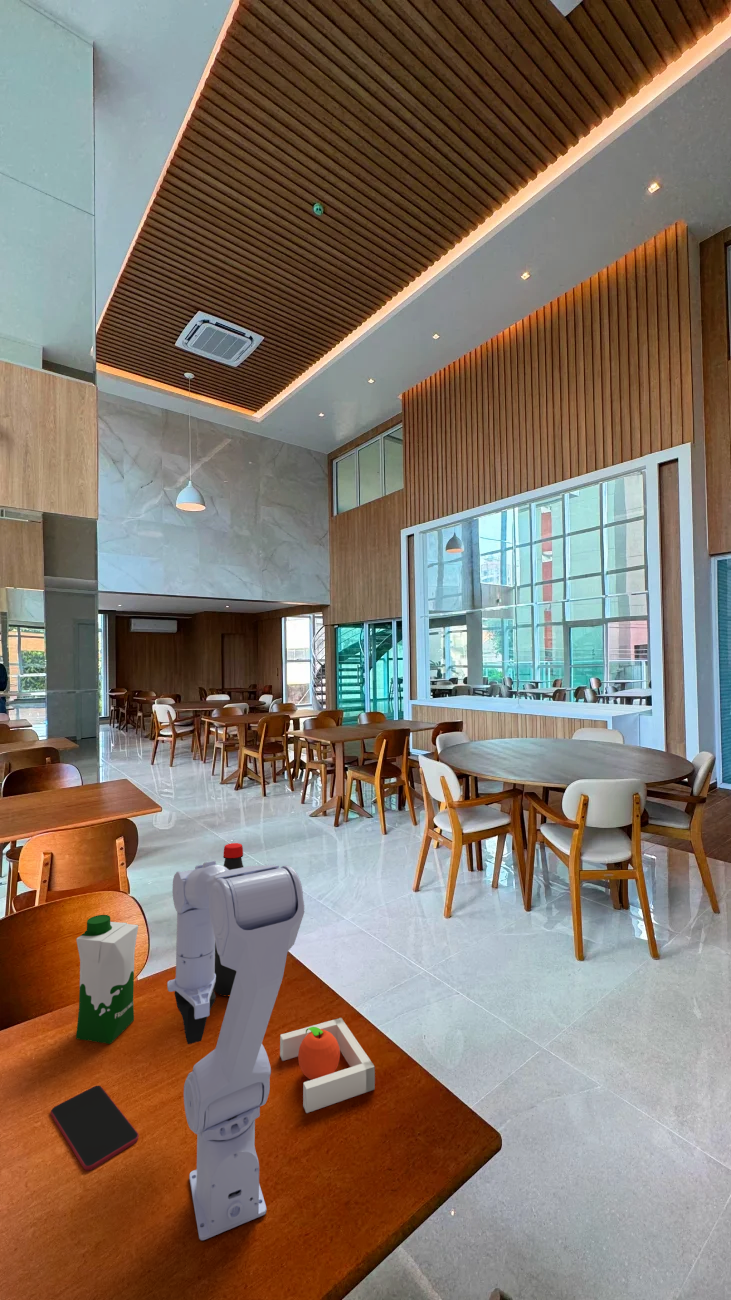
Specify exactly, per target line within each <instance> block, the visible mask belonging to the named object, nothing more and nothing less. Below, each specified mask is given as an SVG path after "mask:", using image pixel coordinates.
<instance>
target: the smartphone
mask: <svg viewBox="0 0 731 1300" xmlns="http://www.w3.org/2000/svg"><path fill="white" fill-rule="evenodd" d="M50 1116H51V1118H52V1119H53V1121H54V1122H55V1124H56V1126H57V1128H58V1129H59V1130H60V1132H61V1134H62V1135H63V1137H64V1139H65V1140H66V1142H67V1144H68V1146H69V1147H70V1149H71V1150H72V1152H73V1153H74V1155H75V1156H76V1159H78V1161H79V1163H80V1165H81V1166H82V1168H83V1170H85V1171H86V1172H89V1171H92V1170H93V1169H94V1170H95V1168H97V1167H99V1166H100V1165H102V1164H103V1163H105V1162H107V1161H108V1160H110V1159H111V1158H113V1157H115V1156H117V1155H118V1154H120V1153H122V1152H123V1151H125V1150H127V1149H128V1148H130V1147H131V1146H133V1145H134V1144H136V1143H137V1142H138V1139H139V1137H140V1135H139V1132H137V1130H136V1129H135V1128H134V1126H133V1125H132V1123H131V1122H130V1121H129V1120H128V1118H127V1117H126V1116H125V1115H124V1114H123V1112H122V1111H121V1109H120V1108H119V1107H118V1106H117V1104H115V1102H114V1101H113V1099H111V1097H110V1096H109V1095H108V1093H107V1092H106V1090H105V1089H104V1088H103V1087H102V1086H101V1085H94V1086H93V1087H90V1088H88V1089H87V1090H85V1091H81V1093H79V1094H76V1095H75V1096H73V1097H70V1098H68V1099H67V1100H65V1101H63V1102H61V1103H59V1104H57V1105H55V1106H54V1107H52V1109H51V1110H50Z"/></svg>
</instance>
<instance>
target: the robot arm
mask: <svg viewBox="0 0 731 1300" xmlns="http://www.w3.org/2000/svg"><path fill="white" fill-rule="evenodd" d="M171 889H172V891H171V892H172V901H173V906H174V908H175V911H176V943H175V944H176V948H175V949H176V950H175V952H176V953H175V957H176V958H175V978H174V979H170V980H167V983H166V985H167V986H166V987H167V991H168V992H169V993H172V992H174V997H175V1002H176V1006H177V1009H178V1011H179V1013H180V1015H181V1017H182V1023H183V1031H184V1034H185V1039H186V1040H185V1041H186V1044H187V1045H191V1044H196V1043H200V1042H202V1040H203V1036H204V1032H205V1028H206V1023H207V1019H208V1017H209V1016H210V1015H211V1014H210V1011H211V1009H212V1007H213V1005H214V1004H215V1001H216V997H217V996H216V992H215V991H214V989H213V988H214V985H215V982H216V974H215V942H216V948H217V952H218V955H219V956H220V962H221V965H223V966H225V967H228V968H230V969H233V970H235V971H236V975H235V979H234V983H233V986H232V990H231V994H230V996H228V997H229V998H228V1000H227V1001H228V1002H227V1005H226V1008H225V1009H226V1010H225V1013H224V1016H223V1019H222V1020H223V1021H222V1023H221V1027H220V1031H219V1034H218V1038H217V1041H216V1042H217V1043H216V1046H215V1048H214V1049H213V1050H211V1051H210V1052H209V1053H208V1054H206V1055H205V1056H204V1057H203V1058H201V1059H200V1060H199V1061H198V1062H196V1063H195V1064H194V1065H193V1068H192V1071H191V1072H189V1073H188V1074H187V1076H186V1079H185V1082H184V1085H183V1106H184V1112H185V1117H186V1122H187V1125H188V1128H189V1129H190V1130H191V1131H192V1132H193V1133H194V1134H195V1135H197V1137H196V1138H197V1139H196V1169H194V1170H192V1171H191V1172H190V1173H189V1175H188V1177H189V1183H190V1191H191V1196H192V1197H191V1198H192V1203H193V1208H194V1214H195V1222H196V1227H197V1233H198V1239H199V1240H200V1241H205V1240H208V1239H210V1238H212V1237H215V1236H216V1235H219V1234H222V1233H224V1232H226V1231H229V1230H231V1229H234V1228H236V1227H238V1226H241V1225H244V1224H246V1223H248V1222H250V1221H252V1220H256V1219H257V1218H260V1217H262V1216H263V1217H264V1216H265V1215H266V1213H267V1205H266V1201H265V1199H264V1194H263V1191H262V1188H261V1184H260V1163H259V1162H260V1161H259V1158H258V1154H257V1152H256V1147H255V1145H256V1144H255V1143H256V1142H255V1140H256V1139H255V1136H256V1135H255V1134H256V1133H255V1132H256V1131H255V1130H256V1128H255V1127H256V1125H255V1124H256V1120H257V1119H258V1118H260V1116H261V1114H260V1113H261V1107H262V1106H264V1105H266V1103H267V1101H268V1098H269V1096H270V1095H269V1094H270V1090H271V1089H270V1088H271V1087H270V1085H271V1084H270V1083H271V1082H270V1079H271V1078H270V1077H271V1074H272V1068H271V1064H270V1061H269V1056H268V1053H267V1051H266V1049H265V1046H264V1045H263V1040H264V1037H265V1034H266V1032H267V1028H268V1025H269V1023H270V1019H271V1016H272V1014H273V1009H274V1007H275V1003H276V1000H277V997H278V994H279V991H280V987H281V984H282V981H283V978H284V972H285V969H286V968H285V967H286V964H287V963H286V961H287V957H288V956H287V955H288V952H289V951H290V950H291V948H292V947H293V946H294V945H295V944H296V943H295V942H296V940H297V936H298V932H299V930H300V927H301V924H302V921H303V918H304V914H305V901H304V900H305V899H304V893H303V892H304V891H303V886H302V883H301V879H300V877H299V875H298V873H297V872H296V871H295V869H294V868H293V867H292V866H290V865H282V866H281V867H280V866H279V865H276V864H267V865H266V864H265V865H248V866H243V868H238V869H232V870H228V869H227V868H226V867H224V865H221V864H217V862H216V860H211V861H205V862H204V863H202V864H198V865H195V867H194V868H193V869H189V870H183V871H176V873H174V875H173V879H172V888H171Z"/></svg>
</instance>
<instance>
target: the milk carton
mask: <svg viewBox="0 0 731 1300" xmlns="http://www.w3.org/2000/svg"><path fill="white" fill-rule="evenodd" d="M138 931H139V925H138V924H129V923H127V922H120V921H119V922H118V921H111V916H110V915H108V914H98V915H94V916H92V917H90V918H88V919H87V920H86V930H85V931H84V933H82V934H81V935H80V936H78V937H77V938H76V939H75V940H76V945H77V951H78V955H79V962H80V963H79V995H78V996H79V998H78V1013H77V1023H76V1034H75V1039H76V1040H82V1041H83V1040H84V1041H88V1042H95V1043H101V1044H108V1045H111V1044H112V1043H113V1042H114V1041H115V1040H116V1039H117V1038H118V1037H119V1036H120V1035H122V1033H123V1032H124V1031H125V1030H126V1029H127V1028H128V1027H129V1026H130V1025H131V1024H132V1023H133V1022H134V1021H135V1016H134V1015H135V1013H134V1012H135V1009H134V991H135V990H134V987H135V984H134V982H135V952H136V951H135V950H136V944H137V937H138V936H137V935H138V933H139V932H138Z"/></svg>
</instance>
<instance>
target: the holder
mask: <svg viewBox="0 0 731 1300" xmlns="http://www.w3.org/2000/svg"><path fill="white" fill-rule="evenodd" d="M310 1027H317V1028H319V1029H322V1030H326V1031H328V1032H330V1033H331V1034H332V1035H333V1036H334V1037H335V1038H336V1040H337V1042H338V1045H339V1048H340V1054H341V1055H342V1056H343V1057H344V1059H345V1061H346V1062H347V1064H348V1066H349V1067H348V1068H344V1069H341V1070H338V1071H335V1072H334V1073H331V1074H328V1075H325V1076H322V1077H319V1078H316V1079H313V1080H310V1079H309V1080H306V1081H304V1082H302V1083H303V1085H302V1086H303V1088H302V1089H303V1091H302V1094H303V1095H302V1097H303V1098H302V1100H303V1102H302V1103H303V1104H302V1107H303V1109H304V1111H305V1113H306V1114H309V1113H310V1112H314V1111H317V1110H319V1109H322V1108H325V1107H328V1106H331V1105H335V1104H336V1103H340V1102H343V1101H345V1100H348V1099H351V1098H353V1097H357V1096H360V1095H362V1094H365V1093H368V1092H371V1091H374V1090H376V1089H375V1087H376V1086H375V1084H376V1077H375V1076H376V1074H375V1073H376V1071H375V1070H376V1067H375V1065H374V1063H373V1061H371V1059H370V1057H369V1056H368V1055H367V1053H366V1052H365V1050H364V1049H363V1047H362V1046H361V1044H360V1043H359V1042H358V1040H357V1038H356V1037H355V1035H354V1034H353V1032H352V1031H351V1030H350V1028H349V1027H348V1025H347V1024H346V1023H345V1021H344V1020H343V1018H342V1017H339V1018H335V1019H332V1020H328V1021H324V1022H321V1023H318V1024H313V1025H310V1026H306V1027H304V1028H300V1029H296V1030H292V1031H289V1032H286V1033H281V1034H280V1037H279V1038H280V1039H279V1040H280V1041H279V1043H280V1045H279V1056H280V1058H281V1061H282V1062H284V1061H286V1060H291V1059H293V1058H298V1053H299V1047H300V1045H301V1042H302V1041H303V1039H304V1038H305V1037H306V1035H308V1034H309V1033H310V1032H311V1031H310V1030H309V1029H308V1028H310ZM307 1029H308V1030H307ZM306 1030H307V1033H306ZM305 1034H306V1035H305Z"/></svg>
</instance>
